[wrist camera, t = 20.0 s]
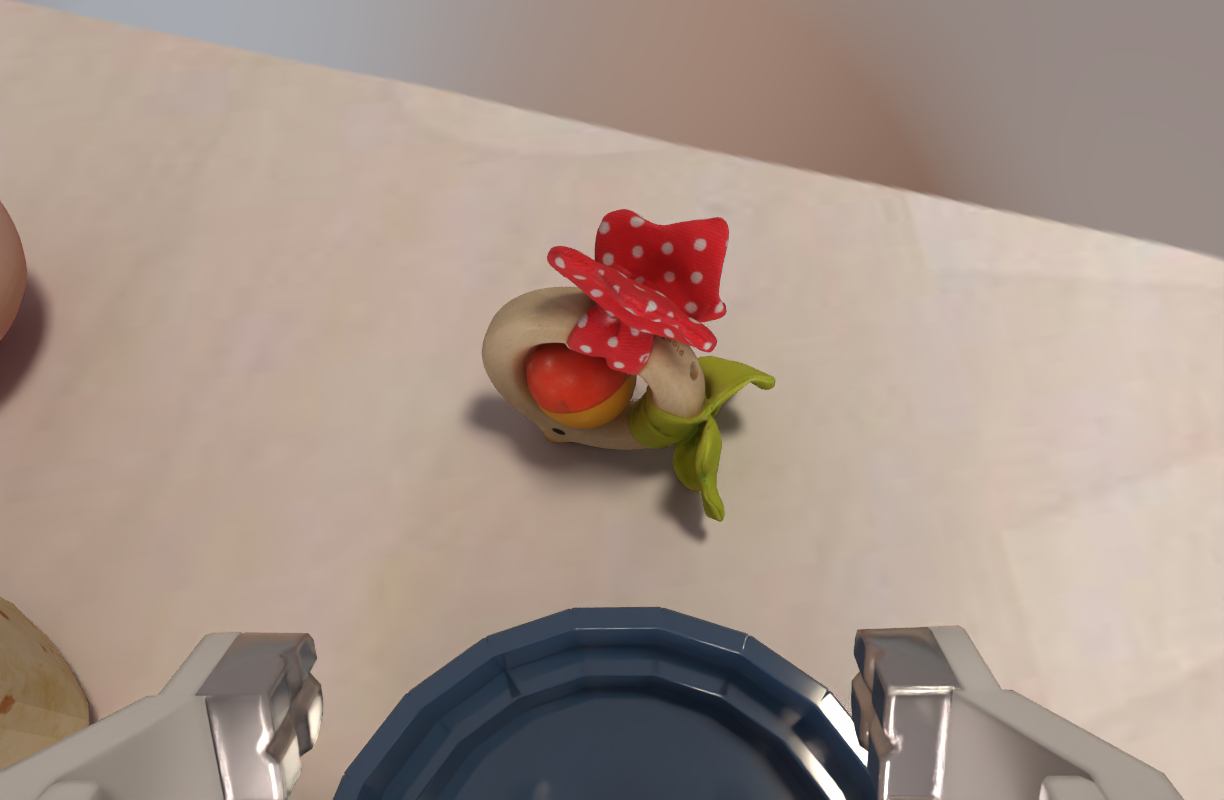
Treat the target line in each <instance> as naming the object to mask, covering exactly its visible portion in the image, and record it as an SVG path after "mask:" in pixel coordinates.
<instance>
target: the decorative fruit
mask: <svg viewBox="0 0 1224 800" xmlns="http://www.w3.org/2000/svg"><path fill="white" fill-rule="evenodd" d="M25 286H26V261H25V256H24V252H23V247H22V244H21V240H20V237H19V235H18V232H17V230H16V227H15V225H14V223H13V221H12V219H11V217H10V215H9V214H8V212H7V210H6V209H5V207H4V206H3V204H2V203H1V201H0V341H1V339H2V338H3V337H4V335H5V334H6V333H7V331H8V330H9V328H10V327H11V325H12V323H13V321H14V319H15V317H16V315H17V313H18V310H19V308H20V305H21V302H22V299H23V295H24V291H25Z"/></svg>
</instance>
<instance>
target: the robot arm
mask: <svg viewBox="0 0 1224 800" xmlns="http://www.w3.org/2000/svg"><path fill="white" fill-rule="evenodd" d="M854 656H855V659H856V662H857V664H858V667H859V670H860V672H859V673H858V674H857V675H856V676H855V678H854V679H853V680H852V692H851V705H852V720H853V724H854V729H855V734H856V737H857V740H858V743H859V746H860V747H862V748H863V749H864V750H866V751H867V752H868V756H867V770H868V773H869V775H870V778H871V781H872V784H873V787H874V790H875V793H876V795H877V798H878V800H1184V799H1183V797H1182V796H1181V795H1180V794H1179V792H1178V791H1177V790H1176V788H1175V787H1174V786H1173V784H1172V783H1171V782H1170V780H1169V779H1168V778H1167V777H1166V775H1165V774H1164V773H1162V772H1160V771H1159V770H1157V769H1155V768H1153V767H1151V766H1150V765H1148V764H1146V763H1144V762H1142V761H1140V760H1139V759H1137V758H1135V757H1133V756H1131V755H1130V754H1128V753H1126V752H1124V751H1122V750H1120V749H1119V748H1117V747H1115V746H1113V745H1111V744H1110V743H1108V742H1106V741H1104V740H1102V739H1101V738H1099V737H1097V736H1095V735H1093V734H1091V733H1090V732H1088V731H1086V730H1084V729H1082V728H1081V727H1079V726H1077V725H1075V724H1073V723H1071V722H1070V721H1068V720H1066V719H1064V718H1062V717H1061V716H1059V715H1057V714H1055V713H1053V712H1052V711H1050V710H1048V709H1046V708H1044V707H1042V706H1041V705H1039V704H1037V703H1035V702H1033V701H1032V700H1030V699H1028V698H1026V697H1024V696H1022V695H1021V694H1019V693H1017V692H1015V691H1013V690H1002V689H1001V687H1000V685H999V684H998V682H997V680H996V679H995V677H994V676H993V674H992V672H991V671H990V669H989V668H988V666H987V664H986V663H985V661H984V660H983V658H982V656H981V655H980V653H979V652H978V650H977V648H976V647H975V645H974V643H973V642H972V640H971V639H970V637H969V635H968V634H967V632H966V631H965V629H964V628H962V627H961V626H938V627H920V628H890V629H861V630H857V633H856V637H855V645H854ZM316 659H317V656H316V651H315V645H314V640H313V638H312V637H311V636H310V635H309V634H308V633H241V632H229V633H211V634H207V635H205V636H204V637H203V638H202V640H201V641H200V642H199V643H198V645H197V646H196V647H195V649H194V650H193V651H192V652H191V654H190V655H189V656H188V657H187V659H186V660H185V661H184V663H183V664H182V665H181V666H180V668H179V669H178V670H177V671H176V673H175V674H174V675H173V676H172V678H171V679H170V680H169V682H168V683H167V684H166V685H165V687H164V688H163V689H162V690H161V692H160V693H159V694H158V695H157V696H146V697H144V698H142V699H140V700H138V701H136V702H134V703H132V704H130V705H129V706H127V707H125V708H123V709H121V710H119V711H117V712H115V713H113V714H111V715H109V716H107V717H105V718H103V719H101V720H99V721H97V722H95V723H93V724H91V725H89V726H87V727H85V728H84V729H82V730H80V731H78V732H76V733H74V734H72V735H70V736H68V737H66V738H64V739H62V740H60V741H58V742H56V743H54V744H52V745H50V746H48V747H46V748H44V749H42V750H41V751H39V752H37V753H35V754H33V755H31V756H29V757H27V758H25V759H23V760H21V761H19V762H17V763H15V764H13V765H11V766H9V767H7V768H5V769H3V770H1V771H0V800H287V799H288V797H289V795H290V793H291V791H292V789H293V787H294V785H295V783H296V781H297V779H298V777H299V775H300V773H301V771H302V768H301V762H300V757H301V756H302V755H304V754H305V753H306V752H308V751H309V750H311V749H312V748H313V746H314V743H315V741H316V739H317V737H318V735H319V730H320V725H321V720H322V715H323V697H322V690H321V684H320V683H319V682H318V681H317V680H316V679H315V678H314V677H313V676H312V674H311V673H310V671H311V669H312V667H313V665H314V663H315V661H316Z"/></svg>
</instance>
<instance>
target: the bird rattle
mask: <svg viewBox="0 0 1224 800" xmlns="http://www.w3.org/2000/svg"><path fill="white" fill-rule="evenodd" d="M728 239H729V229H728V225H727V223H726V221H725V220H724V219H722V218H719V217H716V218H710V219H699V220H693V221H687V222H680V223H675V224H670V225H657V224H653V223H651V222H649V221H647V220H645V219H644V218H643V217H642V216H640V215H639V214H637V213H635V212H633V211H630V210H627V209H621V210H617V211H613V212H610V213H608V214H607V215H606V216H604V218H603V219H602V222H601V224H600V226H599V228H598V231H597V235H596V242H595V261H594V260H593V259H591V258H590V257H588V256H586V255H585V254H583V253H581V252H580V251H577V250H575V249H572V248H569V247H565V246H556V247H553V248H551V250H550V251H549V253H548V256H547V261H548V262H549V264H550V265H551V266H552V267H553V268H554V269H555V270H556V271H558V272H559V273H561V274H562V275H563V276H564V277H566V278H568V279H569V280H570V281H572V282H573V283H574V284H575V285H576V286H578V287H553V288H545V289H539V290H535V291H532V292H528V293H525V294H523V295H520V296H518V297H516V298H514V299H513V300H511V301H509V302H508V303H507V304H505V305H504V306H503V307H502V308H501V309H500V310H499V311H498V312H497V313H496V315H495V316H494V318H493V319H492V321H491V323H490V325H489V327H488V330H487V332H486V334H485V337H484V341H483V347H482V358H483V364H484V367H485V369H486V372H487V374H488V376H489V378H490V380H491V382H492V383H493V385H494V386H495V388H496V389H497V390H498V392H499V393H500V394H501V395H502V396H503V397H504V398H505V399H506V400H507V401H508V402H509V403H510V404H511V405H512V406H513V407H514V408H515V409H516V410H517V411H519V412H520V413H521V414H522V415H524V416H525V417H527V418H528V419H530V420H531V421H533V422H534V423H536V424H537V425H538V426H539V427H540V428H541V430H542V432H543V433H544V435H545V436H546V438H547V439H548V440H549V441H551V442H555V443H561V442H576V443H580V444H585V445H589V446H594V447H600V448H607V449H622V450H629V449H647V448H653V449H663V448H666V447H668V446H669V445H674V444H676V446H675V449H674V457H673V468H674V471H675V473H676V475H677V477H678V478H679V480H680V481H681V482H682V483H683V484H684V485H685V486H686V487H687V488H688V489H690V490H692V491H701V496H702V501H703V507H704V511H705V514H706V515H707V516H708V517H709V518H712V519H715V520H717V521H720V522H721V521H722V520H723V518H724V515H725V512H724V506H723V503H722V500H721V498H720V496H719V493H718V490H717V487H716V478H717V471H718V465H719V459H720V453H721V448H722V442H721V436H720V432H719V429H718V426H717V423H716V421H715V420H714V419H713V417H714V416H716V415H717V413H718V412H719V409H720V407H721V406H722V404H723V403H724V402H725V401H726V400H728V399H729V398H730V397H731V396H733V395H734V394H735V393H736V392H738V391H739V390H740V389H742V388H743V387H744V386H745V385H747V384H748V383H750V382H751V383H752V384H754V385H756V386H757V387H759V388H761V389H764V390H769V389H771V388H773V387H774V386H775V378H774V377H772V376H770V375H768V374H766V373H764V372H762V371H759V370H757V369H755V368H753V367H750V366H748V365H745V364H743V363H739V362H735V361H729V360H725V359H721V358H718V357H714V356H706V357H700V358H697V357H696V355H695V353H694V352H693V350H692V349H691V347H690V346H693V347H696V348H698V349H699V350H701V351H705V352H711V351H713V349H714V348H715V346H716V344H717V339H716V337H715V336H714V334H713V333H712V332H711V331H710V330H709V329H708V328H707V327H706V326H704V325H703V324H702V323H700V322H707V321H711V320H716V319H719V318H721V317H723V316H724V315H725V313H726V306H725V304H724V303H723V302H722V301H721V299H720V297H719V285H720V278H721V273H722V267H723V262H724V258H725V255H726V254H725V253H726V249H727V245H728ZM636 375H640V376H641V377H642V378H643V379H644V380H645V382H646V383H647V384H648V387H647V390H646V393H645V394H644V395H643V396H642V398H640V399H639V400H638V401H636V402H629V401H630V400H631V398H632V395H633V392H634V389H635V385H636Z"/></svg>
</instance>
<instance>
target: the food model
mask: <svg viewBox="0 0 1224 800" xmlns="http://www.w3.org/2000/svg"><path fill="white" fill-rule="evenodd" d="M87 726H89V706H88V702H87V699H86V697H85V695H84V693H83V691H82V689H81V687H80V685H79V684H78V682H77V680H76V678H75V676H74V674H73V673H72V671H71V669H70V667H69V666H68V664H67V663H66V662H65V660H64V659H63V657H62V656H61V655H60V653H59V652H58V650H57V649H56V648H55V646H54V645H53V643H52V642H51V641H50V640H49V638H48V637H47V636H46V635H45V634H44V633H43V632H42V631H40V630H39V629H38V628H37V627H36V626H35V625H34V624H33V623H32V622H31V621H30V620H29V619H28V618H27V617H25V616H24V615H23V614H22V613H21V612H20V610H19V609H18V608H17V607H16V606H15V605H14V604H13V603H11V602H9V601H7V600H5V599H3V598H1V597H0V771H1V770H3V769H5V768H7V767H9V766H11V765H13V764H15V763H17V762H19V761H21V760H23V759H25V758H27V757H29V756H31V755H33V754H35V753H37V752H39V751H41V750H42V749H44V748H46V747H48V746H50V745H52V744H54V743H56V742H58V741H60V740H62V739H64V738H66V737H68V736H70V735H72V734H74V733H76V732H78V731H80V730H82V729H84V728H85V727H87Z"/></svg>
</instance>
